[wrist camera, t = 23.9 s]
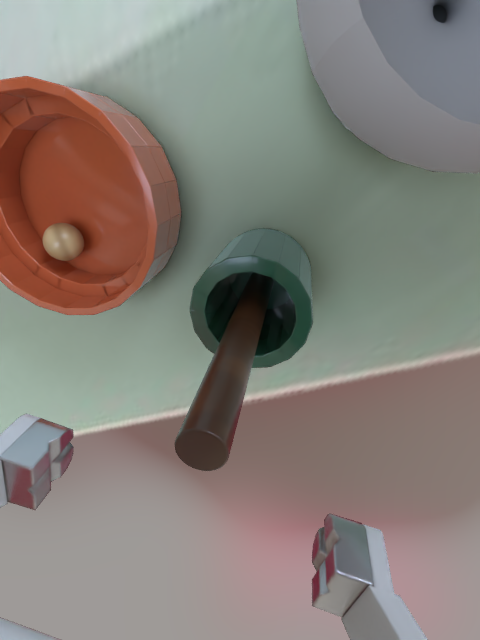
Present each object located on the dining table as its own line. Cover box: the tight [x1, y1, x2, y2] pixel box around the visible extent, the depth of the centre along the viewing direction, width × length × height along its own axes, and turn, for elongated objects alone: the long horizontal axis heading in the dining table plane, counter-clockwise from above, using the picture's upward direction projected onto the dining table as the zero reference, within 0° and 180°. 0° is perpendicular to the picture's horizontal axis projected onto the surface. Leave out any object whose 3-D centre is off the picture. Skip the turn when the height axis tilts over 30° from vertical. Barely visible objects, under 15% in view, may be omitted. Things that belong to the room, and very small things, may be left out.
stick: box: [175, 272, 273, 471], centre depth 20 cm, size 2×2×18 cm
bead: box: [43, 223, 84, 261], centre depth 28 cm, size 3×3×3 cm
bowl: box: [0, 76, 181, 315], centre depth 26 cm, size 15×15×6 cm
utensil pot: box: [190, 228, 313, 368], centre depth 25 cm, size 8×8×8 cm
